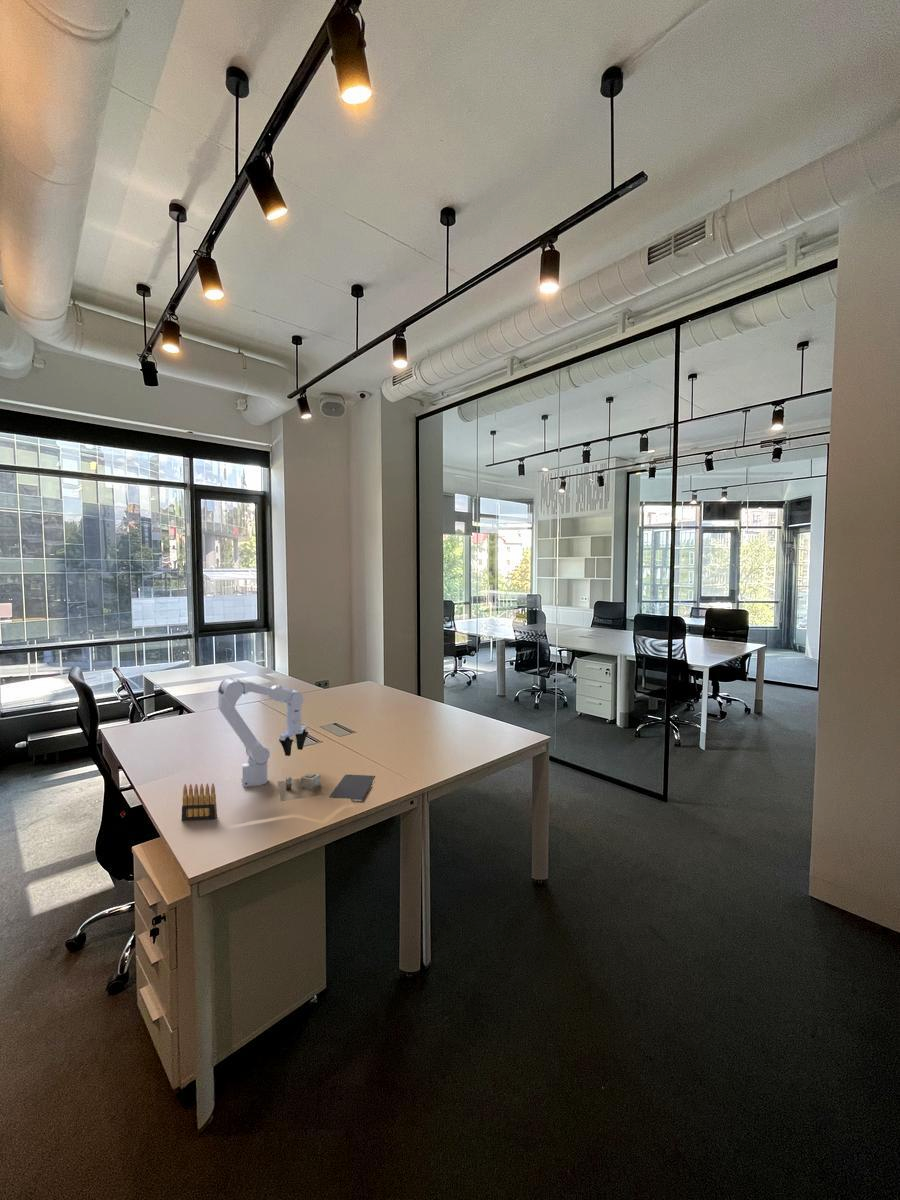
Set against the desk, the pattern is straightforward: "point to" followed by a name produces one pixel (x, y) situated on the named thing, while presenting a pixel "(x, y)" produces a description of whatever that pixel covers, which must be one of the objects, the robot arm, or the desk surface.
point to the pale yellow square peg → (310, 775)
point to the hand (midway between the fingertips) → (293, 752)
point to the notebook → (353, 787)
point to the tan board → (296, 790)
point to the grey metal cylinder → (288, 783)
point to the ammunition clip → (199, 803)
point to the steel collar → (310, 781)
